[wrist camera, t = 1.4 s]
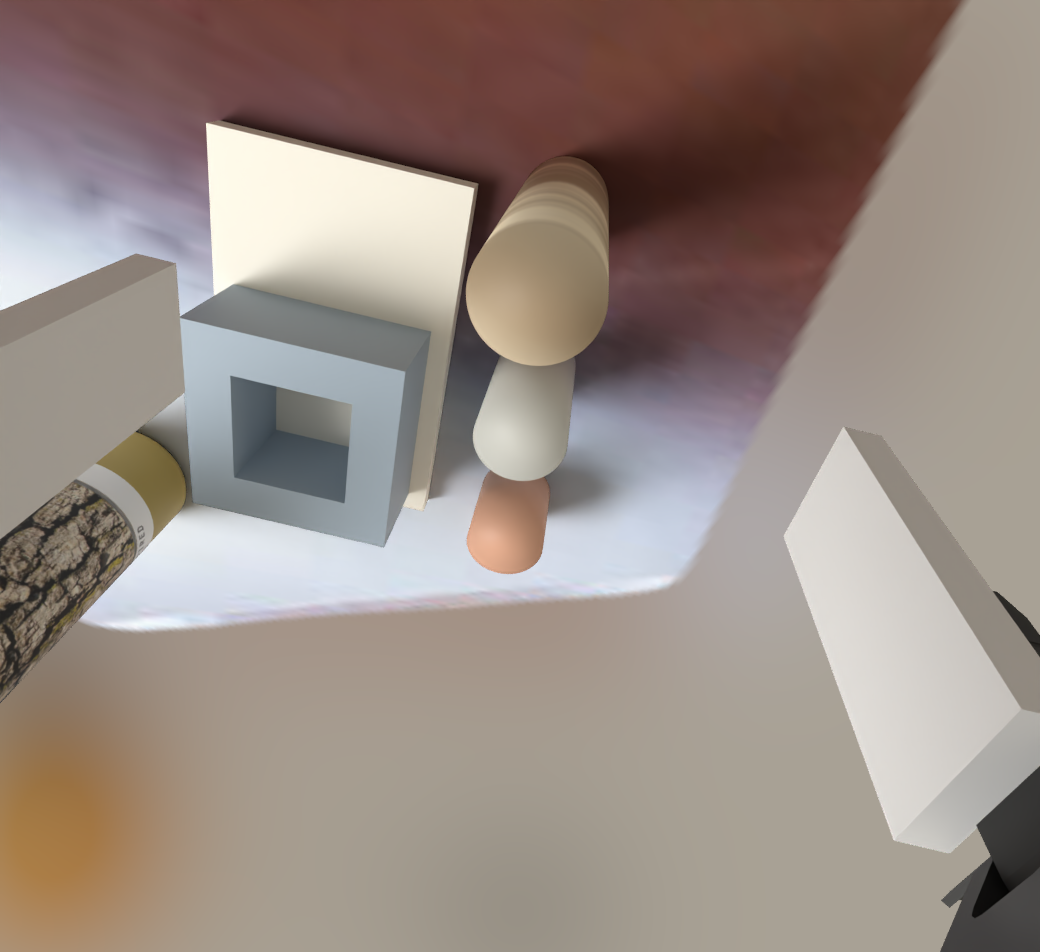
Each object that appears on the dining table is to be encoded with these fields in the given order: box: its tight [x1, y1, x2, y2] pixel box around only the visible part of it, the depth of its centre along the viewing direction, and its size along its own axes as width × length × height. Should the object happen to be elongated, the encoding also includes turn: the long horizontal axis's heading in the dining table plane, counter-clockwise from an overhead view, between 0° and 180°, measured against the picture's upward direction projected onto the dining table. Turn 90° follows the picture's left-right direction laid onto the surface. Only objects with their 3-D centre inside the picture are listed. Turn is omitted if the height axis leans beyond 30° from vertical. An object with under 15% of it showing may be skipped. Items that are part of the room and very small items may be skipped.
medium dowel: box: [473, 355, 576, 481], centre depth 31 cm, size 4×4×8 cm
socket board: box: [180, 121, 479, 547], centre depth 33 cm, size 18×12×6 cm, turn 168°
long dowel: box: [466, 156, 609, 366], centre depth 25 cm, size 4×4×14 cm
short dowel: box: [467, 471, 550, 574], centre depth 37 cm, size 4×4×5 cm
